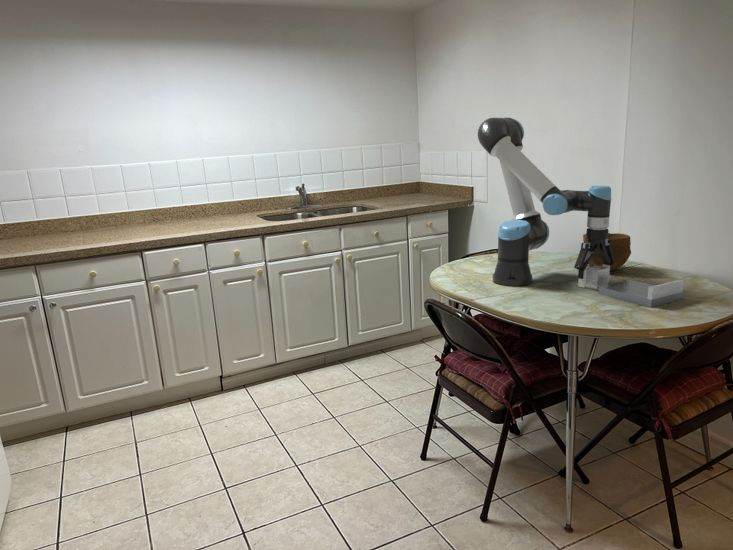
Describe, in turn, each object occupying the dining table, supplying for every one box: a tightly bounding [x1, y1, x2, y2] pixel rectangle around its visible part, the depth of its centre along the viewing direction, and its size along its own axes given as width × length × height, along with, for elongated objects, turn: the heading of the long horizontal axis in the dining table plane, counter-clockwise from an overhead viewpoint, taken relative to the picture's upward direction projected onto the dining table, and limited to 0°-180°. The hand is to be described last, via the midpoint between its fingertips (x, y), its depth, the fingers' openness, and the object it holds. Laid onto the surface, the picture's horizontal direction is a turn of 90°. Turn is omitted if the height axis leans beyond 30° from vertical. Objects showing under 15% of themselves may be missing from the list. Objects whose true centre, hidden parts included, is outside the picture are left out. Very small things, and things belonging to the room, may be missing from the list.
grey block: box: [582, 264, 610, 289], centre depth 205 cm, size 6×8×8 cm
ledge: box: [598, 279, 685, 308], centre depth 189 cm, size 17×20×6 cm
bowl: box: [582, 232, 632, 272], centre depth 226 cm, size 19×19×15 cm
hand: (593, 284), depth 205 cm, fingers open, 12 cm apart
